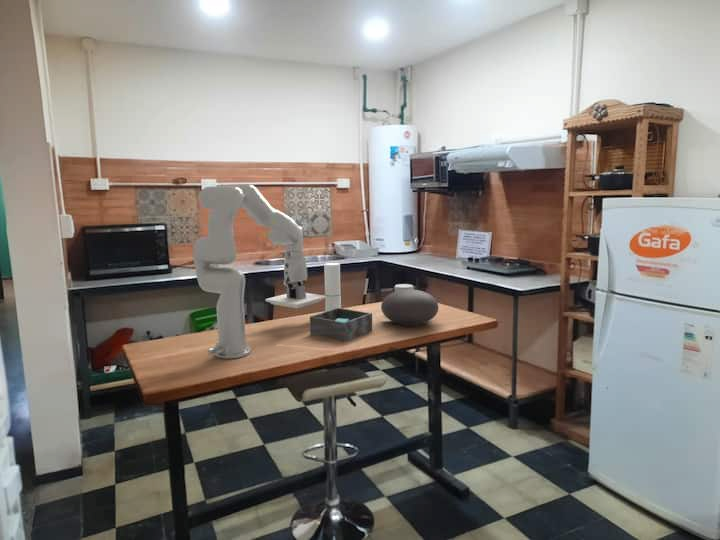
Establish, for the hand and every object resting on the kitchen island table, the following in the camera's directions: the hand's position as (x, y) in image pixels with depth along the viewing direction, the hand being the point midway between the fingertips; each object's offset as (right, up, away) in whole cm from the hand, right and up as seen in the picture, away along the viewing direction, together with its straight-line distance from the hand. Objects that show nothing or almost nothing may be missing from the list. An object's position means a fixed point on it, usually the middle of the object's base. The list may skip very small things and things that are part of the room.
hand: (296, 296), depth 211 cm
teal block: (+20, -14, -11) cm, 27 cm away
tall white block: (+15, -11, +16) cm, 24 cm away
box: (+20, -15, -11) cm, 27 cm away
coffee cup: (+49, -8, +28) cm, 57 cm away
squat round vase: (+49, -12, +3) cm, 51 cm away
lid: (0, -3, 0) cm, 3 cm away
